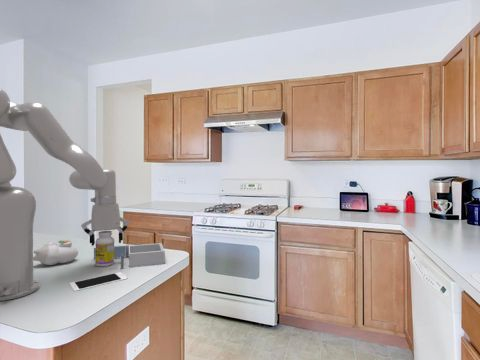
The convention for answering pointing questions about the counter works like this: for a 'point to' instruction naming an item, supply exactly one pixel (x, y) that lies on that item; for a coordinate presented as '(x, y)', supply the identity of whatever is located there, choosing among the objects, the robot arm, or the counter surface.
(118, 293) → the counter surface
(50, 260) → the white bunny figurine
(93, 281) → the cell phone
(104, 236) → the supplement bottle
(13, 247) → the robot arm
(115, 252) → the cover
